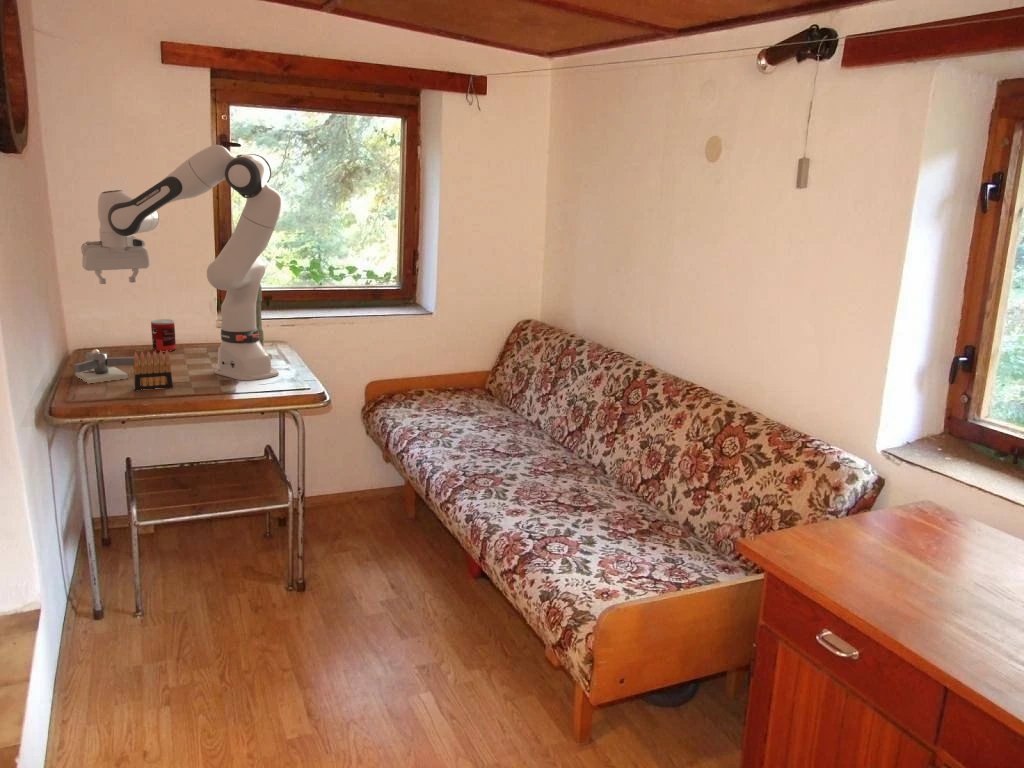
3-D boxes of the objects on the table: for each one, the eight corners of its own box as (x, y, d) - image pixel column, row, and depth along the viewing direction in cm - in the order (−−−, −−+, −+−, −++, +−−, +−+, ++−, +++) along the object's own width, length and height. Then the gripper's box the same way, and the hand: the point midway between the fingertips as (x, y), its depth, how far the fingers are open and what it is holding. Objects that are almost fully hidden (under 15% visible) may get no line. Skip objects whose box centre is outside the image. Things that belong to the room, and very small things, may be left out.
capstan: (137, 371, 262) (136, 351, 261) (76, 380, 250) (74, 358, 248) (120, 362, 273) (118, 342, 272) (60, 369, 261) (58, 349, 259)
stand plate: (128, 378, 261) (127, 373, 260) (88, 384, 252) (87, 379, 252) (115, 371, 269) (114, 366, 268) (75, 376, 261) (75, 371, 260)
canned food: (156, 347, 304) (154, 318, 301) (178, 348, 305) (176, 319, 302) (150, 352, 297) (147, 322, 294) (172, 352, 298) (170, 323, 295)
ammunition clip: (172, 386, 254) (169, 349, 251) (173, 387, 253) (170, 350, 250) (134, 389, 249) (131, 351, 246) (135, 390, 248) (132, 352, 245)
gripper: (84, 242, 256) (87, 286, 259) (150, 241, 270) (152, 282, 274) (77, 240, 260) (80, 283, 263) (142, 239, 274) (144, 280, 278)
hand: (117, 283), depth 269 cm, fingers open, 8 cm apart
